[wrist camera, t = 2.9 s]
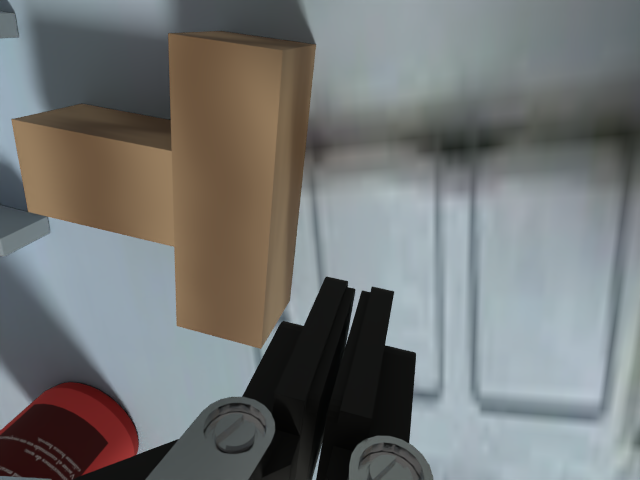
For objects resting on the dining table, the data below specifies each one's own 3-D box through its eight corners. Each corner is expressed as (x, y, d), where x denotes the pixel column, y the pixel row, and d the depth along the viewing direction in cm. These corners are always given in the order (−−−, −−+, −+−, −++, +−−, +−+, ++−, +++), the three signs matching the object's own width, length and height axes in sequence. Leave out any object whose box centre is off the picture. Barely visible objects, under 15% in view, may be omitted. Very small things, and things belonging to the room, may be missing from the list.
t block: (315, 44, 18) (282, 50, 15) (290, 300, 24) (261, 348, 20) (71, 9, 20) (-9, 6, 17) (98, 252, 26) (42, 289, 22)
